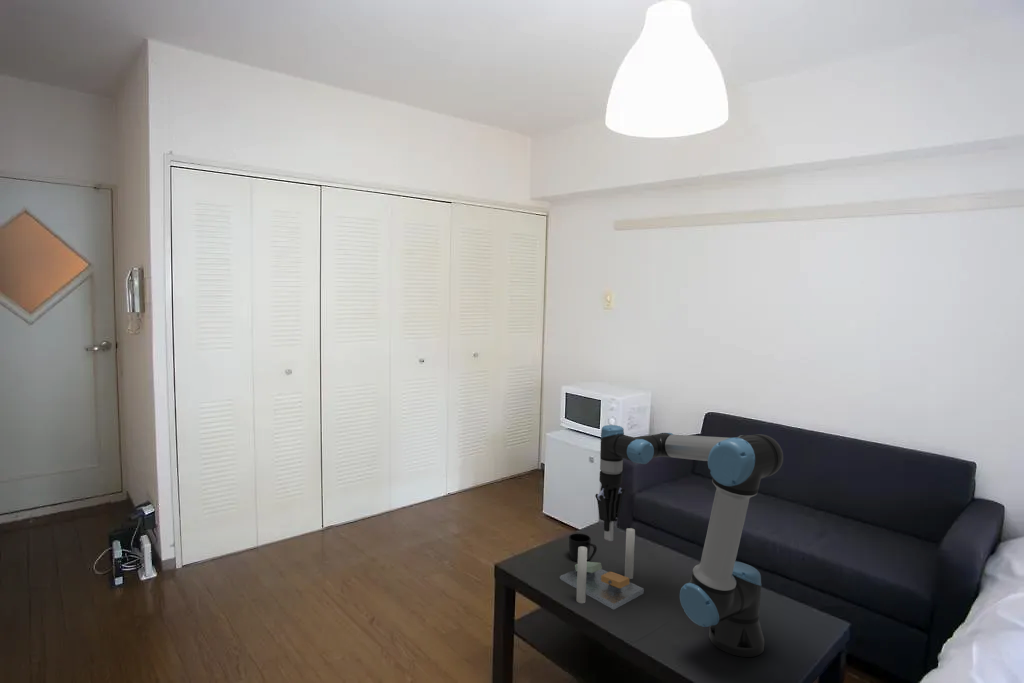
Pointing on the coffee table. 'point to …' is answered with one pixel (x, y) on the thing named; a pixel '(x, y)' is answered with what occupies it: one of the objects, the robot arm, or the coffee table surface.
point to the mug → (578, 541)
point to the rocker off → (615, 579)
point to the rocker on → (591, 566)
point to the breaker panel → (604, 589)
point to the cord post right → (629, 552)
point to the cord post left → (581, 574)
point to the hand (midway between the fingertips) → (608, 539)
